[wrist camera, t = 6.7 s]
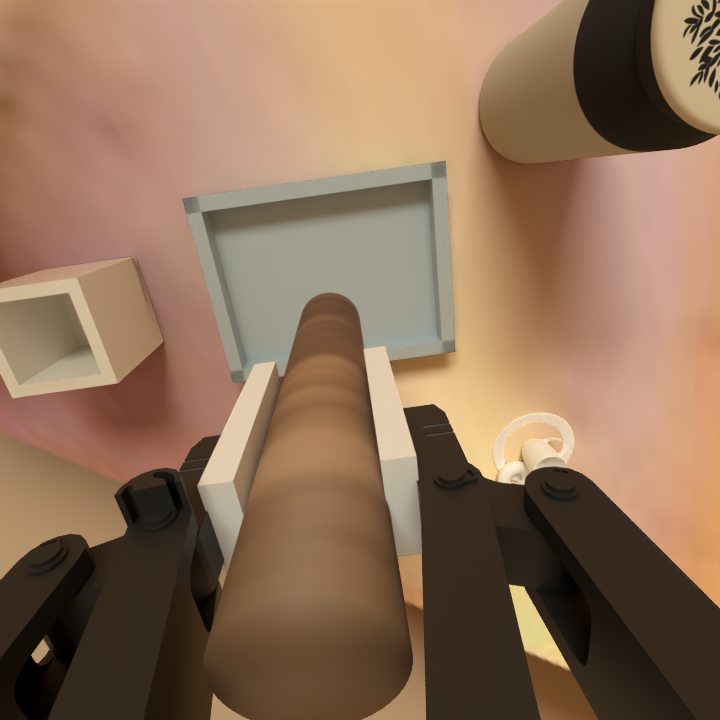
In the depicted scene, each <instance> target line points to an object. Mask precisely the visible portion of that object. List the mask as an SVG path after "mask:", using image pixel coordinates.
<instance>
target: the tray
mask: <svg viewBox="0 0 720 720" xmlns="http://www.w3.org/2000/svg"><path fill="white" fill-rule="evenodd" d="M183 202H184V206H185V210H186V213H187V217H188V221H189V224H190V228H191V231H192V235H193V239H194V242H195V246H196V250H197V253H198V257H199V261H200V264H201V268H202V271H203V275H204V279H205V282H206V286H207V290H208V293H209V297H210V301H211V304H212V308H213V311H214V315H215V319H216V322H217V326H218V330H219V333H220V337H221V341H222V344H223V348H224V351H225V355H226V359H227V362H228V366H229V370H230V373H231V377H232V381H233V383H237V382H244V381H247V379H248V377H249V375H250V373H251V370H252V368H253V366H254V364H260V363H267V362H274V361H276V365H277V369H278V374H279V377H280V376H284V373H285V370H286V366H287V363H288V359H289V356H290V352H291V349H292V346H293V342H294V339H295V335H296V332H297V328H298V325H299V321H300V318H301V314H302V311H303V309H304V307H305V305H306V304H307V303H308V301H310V300H311V299H312V298H313V297H315V296H317V295H319V294H323V293H337V294H341V295H343V296H345V297H346V298H348V299H349V300H350V301H351V302H352V303H353V304H354V305H355V307H356V308H357V310H358V313H359V317H360V324H361V330H362V336H363V343H364V349H367V348H374V347H381V346H385V348H386V351H387V355H388V358H389V361H393V360H400V359H407V358H414V357H421V356H428V355H435V354H442V353H449V352H455V339H454V319H453V299H452V279H451V258H450V238H449V218H448V197H447V177H446V161H441V162H434V163H427V164H420V165H413V166H406V167H399V168H392V169H385V170H378V171H371V172H365V173H358V174H351V175H344V176H337V177H330V178H323V179H316V180H309V181H302V182H295V183H288V184H281V185H274V186H267V187H260V188H253V189H246V190H239V191H232V192H225V193H218V194H211V195H204V196H197V197H191V198H184V199H183Z"/></svg>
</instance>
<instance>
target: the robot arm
mask: <svg viewBox="0 0 720 720" xmlns="http://www.w3.org/2000/svg"><path fill="white" fill-rule="evenodd" d="M364 356H365V363H366V371H367V378H368V384H369V391H370V398H371V405H372V411H373V418H374V425H375V431H376V438H377V445H378V452H379V458H380V465H381V472H382V479H383V485H384V492H385V499H386V501H387V503H388V506H389V509H390V514H391V520H392V527H393V533H394V539H395V546H396V552H397V557H401V556H408V555H415V554H422V576H423V612H424V648H425V686H426V720H541V719H540V715H539V710H538V706H537V702H536V698H535V693H534V690H533V685H532V681H531V677H530V672H529V668H528V664H527V660H526V655H525V651H524V647H523V643H522V639H521V634H520V630H519V626H518V622H517V618H516V613H515V609H514V605H513V601H512V596H511V592H510V588H509V584H510V585H517V586H523V587H525V590H526V591H527V593H528V595H529V597H530V599H531V600H532V602H533V604H534V606H535V607H536V609H537V611H538V613H539V615H540V616H541V618H542V620H543V622H544V623H545V625H546V627H547V629H548V631H549V632H550V634H551V636H552V638H553V640H554V641H555V643H556V645H557V647H558V648H559V650H560V652H561V654H562V656H563V657H564V659H565V661H566V663H567V664H568V666H569V668H570V670H571V672H572V673H573V675H574V677H575V679H576V680H577V682H578V684H579V686H580V688H581V689H582V691H583V693H584V695H585V696H586V698H587V700H588V702H589V704H590V705H591V707H592V709H593V711H594V712H595V714H596V716H597V718H598V720H720V608H719V607H718V606H717V605H716V604H715V603H714V602H713V601H712V600H711V599H710V598H709V597H708V596H707V595H706V594H705V593H704V592H703V591H702V590H701V589H700V588H699V587H698V586H697V585H696V584H695V583H694V582H693V581H692V580H691V579H690V578H689V577H688V576H687V575H686V574H685V573H684V572H683V571H682V570H681V569H680V568H679V567H678V566H677V565H676V564H675V563H674V562H673V561H672V560H671V559H670V558H669V557H668V556H667V555H666V554H665V553H664V552H663V551H662V550H661V549H660V548H659V547H658V546H657V545H656V544H655V543H654V542H653V541H652V540H651V539H650V538H649V537H648V536H647V535H646V534H645V533H644V532H643V531H642V530H641V529H640V528H639V527H638V526H637V525H636V524H635V523H634V522H633V521H632V520H631V519H630V518H629V517H628V516H627V515H626V514H625V513H624V512H623V511H622V510H621V509H620V508H619V507H618V506H617V505H616V504H615V503H614V502H613V501H612V500H611V499H610V498H609V497H608V496H607V495H606V494H605V493H604V492H603V491H602V490H601V489H600V488H599V487H598V486H597V485H596V484H595V483H594V482H593V481H591V480H590V479H589V478H587V477H586V476H584V475H583V474H582V473H579V472H577V471H574V470H572V469H569V468H563V467H557V466H552V467H541V468H539V469H536V470H533V471H531V472H530V473H529V474H528V475H527V476H526V478H525V483H524V485H522V484H510V483H502V482H496V481H492V480H489V479H486V478H484V477H483V476H482V474H481V472H480V471H479V469H477V468H476V467H474V466H473V465H472V464H470V463H468V461H467V459H466V457H465V455H464V453H463V450H462V448H461V446H460V444H459V442H458V440H457V438H456V435H455V433H454V432H453V429H452V427H451V425H450V423H449V420H448V418H447V416H446V414H445V412H444V411H442V410H441V409H440V408H438V407H437V406H435V405H434V404H431V405H424V406H417V407H409V408H403V407H402V404H401V400H400V397H399V393H398V390H397V386H396V383H395V379H394V376H393V372H392V369H391V365H390V362H389V358H388V355H387V351H386V348H385V346H381V347H374V348H367V349H364ZM280 387H281V382H280V378H279V374H278V369H277V365H276V361H274V362H267V363H260V364H254V366H253V368H252V370H251V373H250V375H249V377H248V379H247V381H246V383H245V385H244V387H243V390H242V392H241V394H240V396H239V398H238V400H237V402H236V404H235V407H234V409H233V411H232V413H231V415H230V417H229V419H228V421H227V424H226V426H225V428H224V430H223V432H222V434H221V435H218V436H211V437H204V438H203V439H202V440H201V441H199V442H198V443H197V444H196V445H195V446H194V447H193V448H191V450H190V452H189V454H188V456H187V457H186V459H185V462H184V463H183V465H182V466H181V468H180V472H178V471H177V470H176V469H170V468H162V469H155V470H152V471H149V472H145V473H143V474H141V475H139V476H137V477H135V478H133V479H131V480H130V481H128V482H127V483H126V484H124V485H123V486H122V487H121V488H120V489H119V490H118V492H117V493H116V494H115V495H114V496H115V499H116V501H117V503H118V506H119V508H120V510H121V512H122V515H123V517H124V519H125V521H126V524H127V526H128V528H127V530H126V533H125V535H124V536H122V537H119V538H117V539H114V540H111V541H109V542H106V543H103V544H100V545H97V546H94V547H92V548H89V546H88V544H87V542H86V540H85V539H84V538H83V537H82V536H81V535H75V534H68V535H63V536H59V537H56V538H53V539H51V540H48V541H46V542H44V543H42V544H40V545H39V546H37V547H36V548H34V549H33V550H31V551H29V552H28V553H27V554H26V555H25V556H24V557H22V558H21V559H20V560H19V561H18V562H17V563H16V564H15V565H14V566H13V567H12V568H11V569H10V570H9V572H8V573H7V574H6V575H5V576H4V577H3V578H2V579H1V580H0V720H210V716H211V706H212V697H213V692H212V690H211V689H210V687H209V685H208V683H207V681H206V678H205V674H204V668H203V659H204V653H205V649H206V646H207V642H208V639H209V635H210V632H211V628H212V625H213V621H214V618H215V614H216V611H217V607H218V604H219V600H220V597H221V593H222V588H221V585H220V583H219V580H218V578H219V576H220V572H221V569H222V566H223V563H224V566H225V568H226V571H227V572H228V569H229V565H230V562H231V558H232V555H233V551H234V548H235V544H236V541H237V537H238V534H239V530H240V527H241V523H242V520H243V516H244V513H245V509H246V506H247V502H248V499H249V496H250V492H251V489H252V485H253V482H254V478H255V475H256V471H257V468H258V464H259V461H260V457H261V454H262V450H263V447H264V443H265V440H266V436H267V433H268V429H269V426H270V422H271V419H272V415H273V412H274V408H275V405H276V401H277V398H278V394H279V391H280ZM42 639H44V641H45V642H46V644H47V646H48V647H49V649H50V650H49V651H48V653H47V654H46V656H45V657H44V658H43V659H42V660H41V661H40V662H39V663H38V664H37V663H36V662H35V661H34V659H33V658H32V656H31V654H32V653H33V652H34V650H35V649H36V648H37V646H38V645H39V643H40V642H41V640H42Z"/></svg>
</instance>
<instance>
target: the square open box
mask: <svg viewBox="0 0 720 720" xmlns="http://www.w3.org/2000/svg"><path fill="white" fill-rule="evenodd" d="M163 342H164V341H163V338H162V334H161V331H160V328H159V325H158V322H157V319H156V316H155V313H154V310H153V307H152V304H151V301H150V298H149V295H148V292H147V289H146V286H145V283H144V280H143V277H142V274H141V271H140V268H139V265H138V262H137V259H136V256H134V257H127V258H120V259H113V260H106V261H99V262H92V263H85V264H78V265H71V266H64V267H57V268H50V269H44V270H41V271H38V272H34V273H31V274H27V275H24V276H21V277H17V278H14V279H10V280H7V281H4V282H0V374H1V376H2V378H3V380H4V382H5V384H6V386H7V388H8V390H9V392H10V394H11V396H12V398H18V397H25V396H32V395H39V394H46V393H53V392H61V391H68V390H75V389H82V388H89V387H96V386H103V385H110V384H117V383H119V382H120V381H121V380H122V379H123V378H124V377H126V376H127V375H128V374H129V373H130V372H131V371H132V370H133V369H134V368H135V367H137V366H138V365H139V364H140V363H141V362H142V361H143V360H144V359H145V358H146V357H147V356H149V355H150V354H151V353H152V352H153V351H154V350H155V349H156V348H157V347H158V346H159V345H161V344H162V343H163Z"/></svg>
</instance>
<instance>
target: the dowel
mask: <svg viewBox="0 0 720 720" xmlns="http://www.w3.org/2000/svg"><path fill="white" fill-rule="evenodd" d="M412 664H413V654H412V647H411V641H410V635H409V628H408V622H407V616H406V609H405V603H404V596H403V590H402V584H401V577H400V571H399V565H398V558H397V552H396V546H395V539H394V533H393V527H392V520H391V514H390V509H389V506H388V503H387V501H386V499H385V492H384V485H383V479H382V472H381V465H380V458H379V452H378V445H377V438H376V431H375V425H374V418H373V411H372V405H371V398H370V391H369V384H368V378H367V371H366V363H365V356H364V343H363V336H362V330H361V324H360V317H359V313H358V310H357V308H356V307H355V305H354V304H353V303H352V302H351V301H350V300H349V299H348V298H346V297H345V296H343V295H341V294H337V293H323V294H319V295H317V296H315V297H313V298H312V299H311V300H310V301H308V303H307V304H306V305H305V307H304V309H303V311H302V314H301V318H300V321H299V325H298V328H297V332H296V335H295V339H294V342H293V346H292V349H291V352H290V356H289V359H288V363H287V366H286V370H285V373H284V377H283V380H282V384H281V387H280V391H279V394H278V398H277V401H276V405H275V408H274V412H273V415H272V419H271V422H270V426H269V429H268V433H267V436H266V440H265V443H264V447H263V450H262V454H261V457H260V461H259V464H258V468H257V471H256V475H255V478H254V482H253V485H252V489H251V492H250V496H249V499H248V502H247V506H246V509H245V513H244V516H243V520H242V523H241V527H240V530H239V534H238V537H237V541H236V544H235V548H234V551H233V555H232V558H231V562H230V565H229V569H228V572H227V576H226V579H225V583H224V586H223V590H222V593H221V597H220V600H219V604H218V607H217V611H216V614H215V618H214V621H213V625H212V628H211V632H210V635H209V639H208V642H207V646H206V649H205V653H204V659H203V668H204V674H205V678H206V681H207V683H208V685H209V687H210V689H211V690H212V692H213V693H214V694H215V695H216V697H217V698H218V699H219V700H220V701H221V702H222V703H223V704H225V705H226V706H227V707H228V708H230V709H231V710H233V711H234V712H236V713H238V714H239V715H241V716H243V717H245V718H247V719H250V720H361V719H364V718H366V717H368V716H370V715H372V714H374V713H376V712H377V711H379V710H381V709H382V708H383V707H385V706H386V705H388V704H389V703H390V702H391V701H392V700H393V699H394V698H396V697H397V696H398V694H399V693H400V692H401V690H402V689H403V688H404V686H405V685H406V683H407V681H408V679H409V677H410V674H411V670H412Z"/></svg>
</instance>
